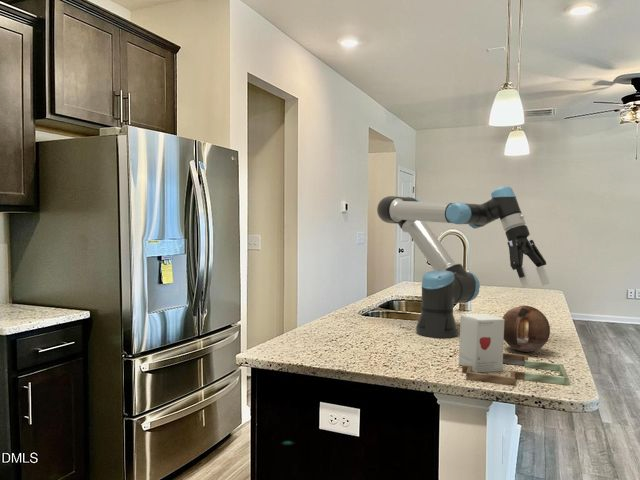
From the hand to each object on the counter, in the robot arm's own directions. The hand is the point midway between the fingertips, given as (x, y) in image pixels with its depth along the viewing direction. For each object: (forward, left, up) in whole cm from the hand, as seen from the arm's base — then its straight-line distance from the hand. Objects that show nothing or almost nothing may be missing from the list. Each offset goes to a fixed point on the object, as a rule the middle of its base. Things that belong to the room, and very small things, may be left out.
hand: (537, 285), depth 167 cm
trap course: (-8, -36, -21) cm, 42 cm away
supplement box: (-16, -36, -21) cm, 44 cm away
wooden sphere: (-4, -10, -21) cm, 23 cm away
